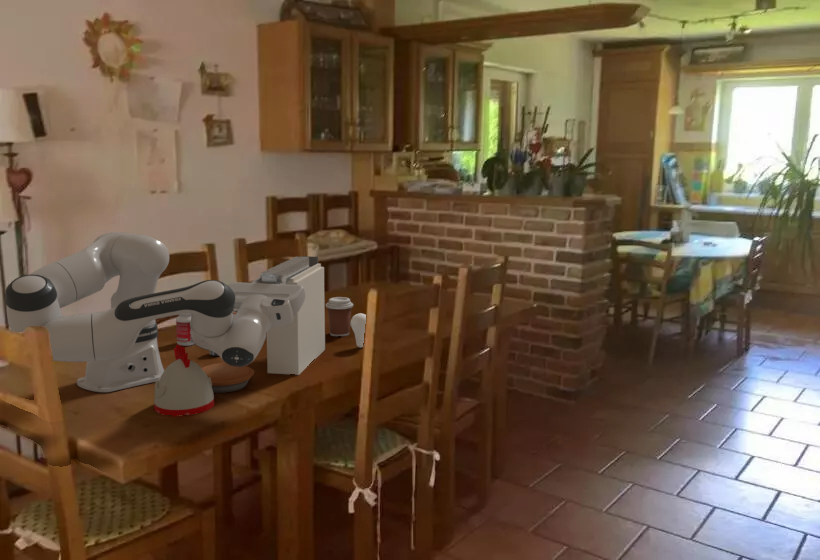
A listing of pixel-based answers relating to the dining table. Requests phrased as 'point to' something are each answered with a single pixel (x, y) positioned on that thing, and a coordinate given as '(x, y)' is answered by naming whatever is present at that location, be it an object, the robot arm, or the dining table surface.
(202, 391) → the kitchen timer
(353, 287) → the dining table surface
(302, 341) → the stand
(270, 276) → the brushed metal bar
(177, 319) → the pill bottle
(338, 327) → the coffee cup
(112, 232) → the robot arm
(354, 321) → the lightbulb
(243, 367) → the pie
